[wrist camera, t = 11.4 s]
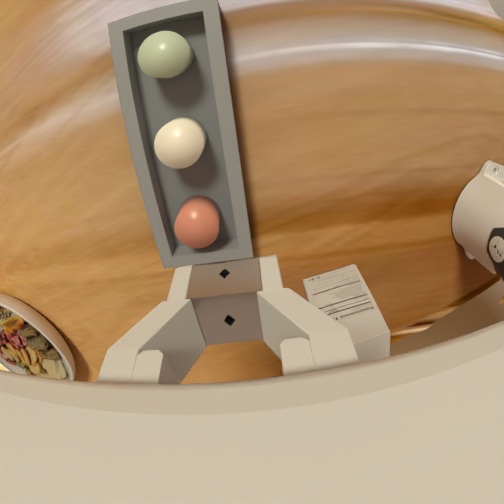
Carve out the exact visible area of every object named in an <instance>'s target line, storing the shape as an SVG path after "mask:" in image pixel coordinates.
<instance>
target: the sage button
mask: <svg viewBox="0 0 504 504" xmlns="http://www.w3.org/2000/svg"><path fill="white" fill-rule="evenodd" d="M193 58H194V51H193V48H192V46H191V44H190V43H189V42H188V41H187V40H186V39H184V38H183V37H182V36H180V35H179V34H177V33H175V32H172V31H160V32H156V33H154V34H152V35H150V36H149V37H148V38H146V39H145V40H144V42H143V43H142V44H141V46H140V48H139V51H138V63H139V66H140V68H141V69H142V71H143V72H144V73H146V74H147V75H149V76H151V77H154V78H174V77H178V76H180V75H182V74H183V73H185V72H186V71H187V70H188V69H189V67H190V66H191V64H192V62H193Z"/></svg>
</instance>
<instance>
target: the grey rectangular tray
mask: <svg viewBox="0 0 504 504" xmlns="http://www.w3.org/2000/svg"><path fill="white" fill-rule="evenodd" d="M108 28H109V36H110V44H111V51H112V58H113V64H114V71H115V77H116V82H117V88H118V94H119V99H120V104H121V109H122V114H123V119H124V124H125V128H126V133H127V137H128V142H129V146H130V150H131V155H132V159H133V163H134V167H135V171H136V175H137V179H138V182H139V186H140V190H141V194H142V197H143V201H144V205H145V208H146V212H147V215H148V218H149V222H150V225H151V229H152V232H153V235H154V238H155V242H156V245H157V248H158V251H159V254H160V257H161V260H162V263H163V267H164V268H171V267H180V266H188V265H196V264H205V263H213V262H221V261H229V260H237V259H246V258H253V248H252V239H251V231H250V224H249V217H248V210H247V202H246V195H245V188H244V181H243V174H242V166H241V159H240V152H239V145H238V138H237V130H236V123H235V116H234V109H233V102H232V95H231V88H230V80H229V73H228V66H227V59H226V52H225V45H224V38H223V31H222V23H221V16H220V9H219V3H218V0H190V1H185V2H180V3H176V4H172V5H167V6H163V7H159V8H156V9H152V10H148V11H145V12H141V13H138V14H135V15H132V16H129V17H125V18H122V19H120V20H117V21H114V22H111V23H108ZM160 31H172V32H175V33H177V34H179V35H180V36H182V37H183V38H184V39H186V40H187V41H188V42H189V43H190V44H191V46H192V48H193V51H194V58H193V62H192V64H191V66H190V67H189V69H188V70H187V71H186V72H185V73H183V74H182V75H180V76H178V77H174V78H154V77H151V76H149V75H147V74H146V73H144V72H143V71H142V69H141V68H140V66H139V63H138V51H139V48H140V46H141V44H142V43H143V42H144V40H145V39H146V38H148V37H149V36H150V35H152V34H154V33H156V32H160ZM183 116H187V117H192V118H195V119H196V120H198V121H199V122H200V123H201V124H202V125H203V126H204V128H205V130H206V134H207V141H206V145H205V147H204V149H203V151H202V153H201V155H200V157H199V159H198V160H197V161H196V162H195V163H194V164H192V165H191V166H189V167H186V168H181V169H176V168H171V167H168V166H166V165H165V164H163V163H162V162H161V161H160V160H159V159H158V157H157V155H156V153H155V149H154V141H155V137H156V135H157V133H158V131H159V130H160V129H161V128H162V127H163V126H164V125H166V124H167V123H169V122H170V121H172V120H174V119H175V118H178V117H183ZM196 195H202V196H207V197H209V198H211V199H212V200H214V201H215V202H216V204H217V205H218V207H219V209H220V223H219V232H218V236H217V238H216V240H215V241H214V242H213V243H212V244H210V245H209V246H207V247H204V248H191V247H188V246H186V245H184V244H183V243H182V242H180V241H179V239H178V238H177V236H176V234H175V231H174V224H175V221H176V218H177V216H178V213H179V211H180V208H181V206H182V204H183V203H184V201H185V200H187V199H188V198H190V197H192V196H196Z"/></svg>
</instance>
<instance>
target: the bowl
mask: <svg viewBox="0 0 504 504" xmlns="http://www.w3.org/2000/svg"><path fill="white" fill-rule="evenodd" d="M0 363H1V364H2V365H3V366H4V367H6V368H7V369H8V370H9V371H11V372H14V373H20V374H26V375H33V376H39V377H47V378H55V379H64V380H74V377H75V362H74V358H73V355H72V353H71V351H70V349H69V347H68V345H67V343H66V342H65V340H64V339H63V337H62V336H61V335H60V334H59V332H58V331H57V330H56V329H55V328H54V327H53V326H52V325H51V324H50V323H49V322H48V321H47V320H46V319H45V318H44V317H43V316H42V315H41V314H39V313H38V312H37V311H35V310H34V309H33V308H31V307H30V306H28V305H27V304H25V303H24V302H22V301H20V300H18V299H16V298H14V297H11V296H9V295H6V294H2V293H0Z"/></svg>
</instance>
